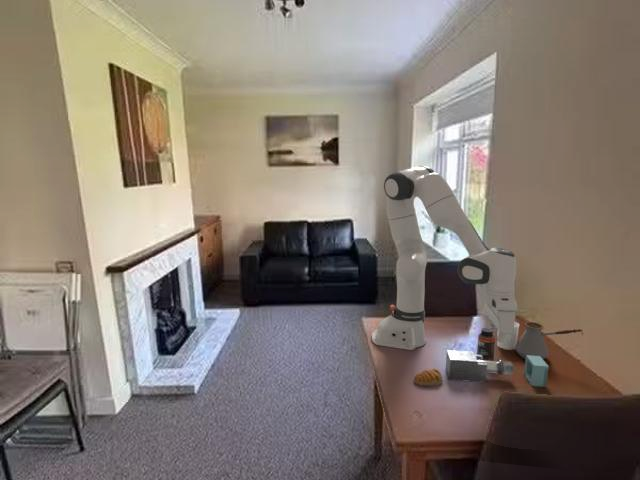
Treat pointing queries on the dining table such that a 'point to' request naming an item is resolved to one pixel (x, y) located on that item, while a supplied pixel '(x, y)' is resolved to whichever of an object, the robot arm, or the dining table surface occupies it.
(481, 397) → the dining table surface
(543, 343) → the coffee pot
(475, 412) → the dining table surface
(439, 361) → the dining table surface
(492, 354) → the supplement bottle
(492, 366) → the tube
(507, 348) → the white cup
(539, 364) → the socket
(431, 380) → the pastry
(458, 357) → the sleeve
